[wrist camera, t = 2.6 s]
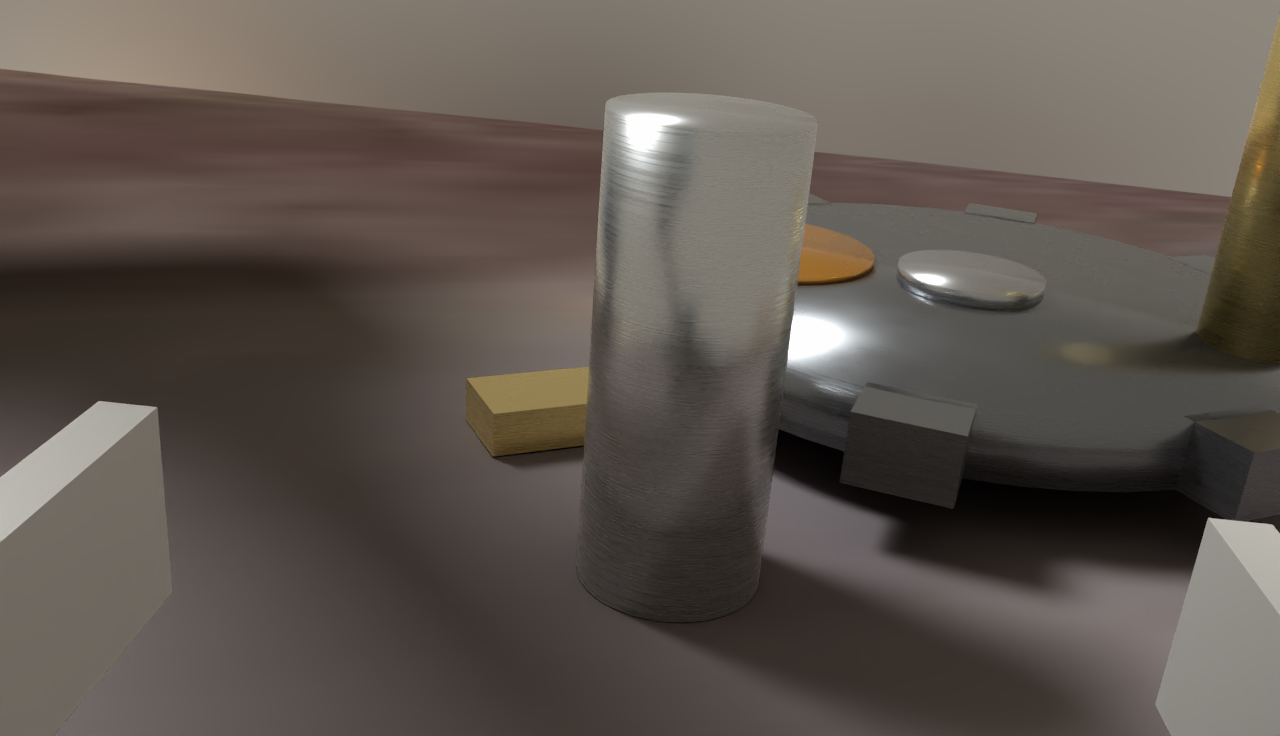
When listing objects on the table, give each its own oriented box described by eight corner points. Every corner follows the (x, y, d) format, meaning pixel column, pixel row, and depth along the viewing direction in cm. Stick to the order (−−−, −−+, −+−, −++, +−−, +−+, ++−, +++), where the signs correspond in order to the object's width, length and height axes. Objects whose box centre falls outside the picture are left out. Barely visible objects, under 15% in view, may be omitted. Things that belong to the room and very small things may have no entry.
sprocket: (489, 252, 43) (501, -174, 37) (1005, 225, 52) (1071, -118, 47) (853, 599, 23) (983, -187, 18) (1571, 456, 33) (1791, -88, 27)
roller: (550, 539, 27) (573, 92, 23) (707, 514, 29) (752, 93, 25) (619, 637, 24) (660, 134, 20) (792, 603, 25) (859, 132, 22)
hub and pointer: (438, 380, 35) (438, 341, 35) (971, 329, 43) (977, 297, 43) (528, 507, 28) (530, 462, 28) (1139, 419, 36) (1149, 383, 36)
